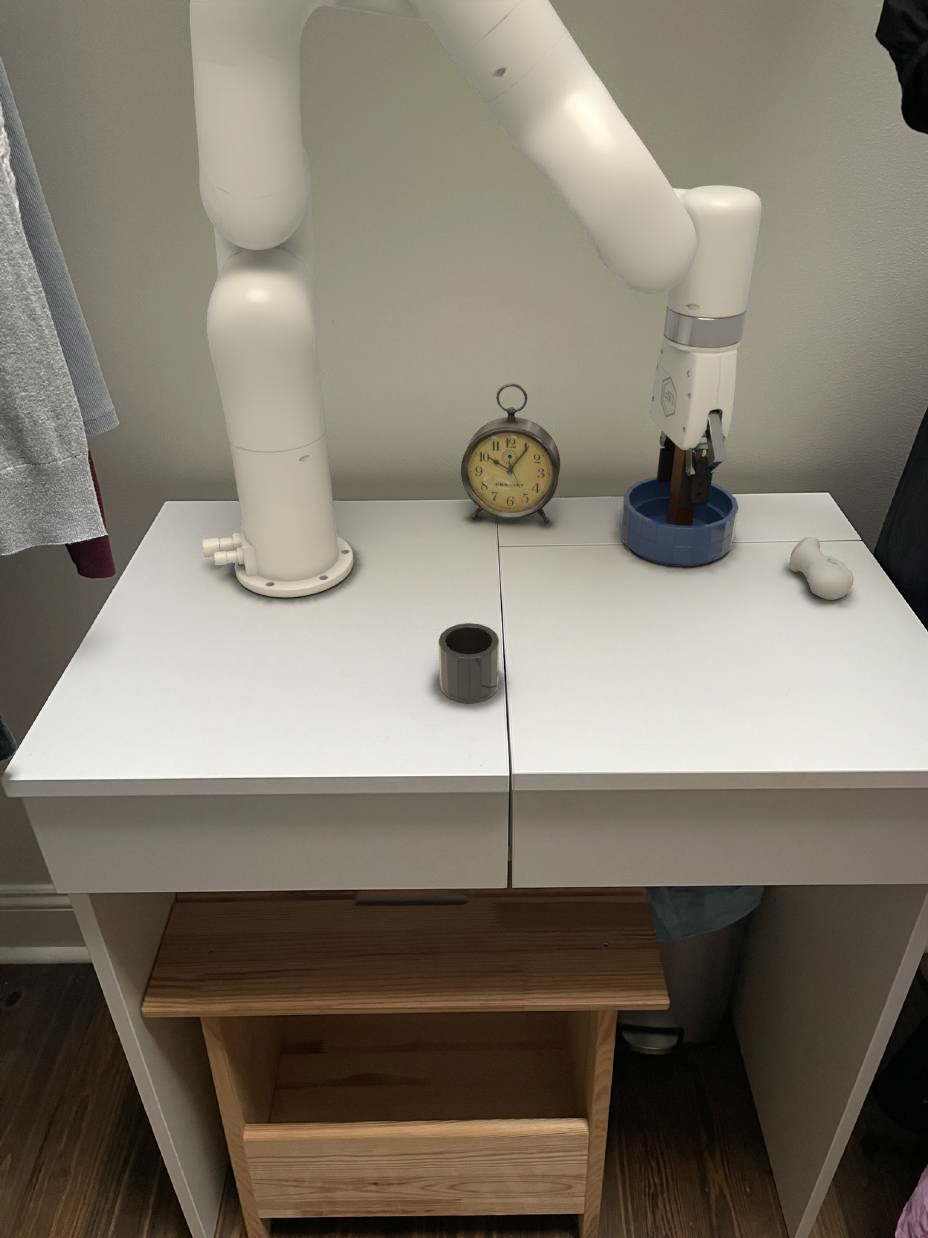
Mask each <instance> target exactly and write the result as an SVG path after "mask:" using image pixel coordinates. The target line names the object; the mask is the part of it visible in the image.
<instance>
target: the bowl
mask: <svg viewBox="0 0 928 1238" xmlns="http://www.w3.org/2000/svg"><path fill="white" fill-rule="evenodd" d="M670 486H671V482H666V483H659V482H658V480H657V476H654V477H650V478H646V479H643V480H642V479H641V480H639V481H636V482H635V483H633V484H632V485H631V486H629V487H628V488H627V489H626V491H625V492H624V494H623V496H622V506H621V507H622V508H621V509H622V510H621V517H620V518H621V519H620V529H619V531H620V539H621V540H622V541H623V543H624V545H625V546H626V547H627V548H629V549H630V550H631V551H632V552H633V553H635V554H636V555H638V556H639V557H641V558H642V559H645V560H647V561H650V562H653V563H656V564H659V565H665V566H672V567H697V566H701V565H705V564H709V563H711V562H713V561H716V560H718V559H720V558H722V557H723V556H724V555H726V554H727V553H728V552H729V551H730V550H731V547H732V545H733V542H734V537H735V531H736V525H737V521H738V514H739V505H738V501H737V498H736V497H735V496H734V495H733V494H732V493H731V492H730V491H729V490H727V489H725V488H723V487H722V486H720V485H718V484H716V483H714V482H711V488H710V494H709V501H708V504H707V505H705V506H697V507H695V511H694V518H693V525H692V526H680V525H672V524H667V523H666V518H667V510H668V502H669V494H670Z"/></svg>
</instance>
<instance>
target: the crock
mask: <svg viewBox="0 0 928 1238" xmlns="http://www.w3.org/2000/svg"><path fill="white" fill-rule="evenodd" d="M499 638H500V637H499V636H498V634H497V633H496V632H495V631H494V630H493V629H492V628H490V627H488V626H486V625H484V624H480V623H473V622H464V623H457V624H455V625H452V626H450V627H448V628H446V629H445V630H443V631H442V632H441V634H440V635H439V638H438V665H439V666H438V667H439V686H440V690H441V692H442V694H443V695H444V696H445V697H447V698H448V699H450V700H451V701H454V702H457V703H461V704H476V703H481V702H484V701H487V700H489V699H490V698H492V697H493V696H494V695H495V694H496V692H497V691H498V689H499V680H500V679H499V678H500V677H499V675H500V639H499Z"/></svg>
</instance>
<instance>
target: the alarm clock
mask: <svg viewBox="0 0 928 1238" xmlns="http://www.w3.org/2000/svg"><path fill="white" fill-rule="evenodd" d="M510 387H512V388H513V387H514V388H516V389H518V390H520V391H521V392H522V394H523V396H524V401H523V403H522V406H520V407H519V408H517V409H515V408H514V407H513V406H511V407H510V406H509V407H508V408H505V407H504V406H503V405H502V403H501V402H500V395H501V393H502V391H504V390H505V389H506V388H507V389H508V388H510ZM495 398H496V404H497V405H498V407H500V409H501V410H502V411H504V412H506V413H507V416H504V417H500V418H496V419H493V420H491V421H488V422H487V423H486V424H484V425H482V427H480V428H479V429H478V430H477V431H476V432H475V433H474V435H472V437H471V439H470V441H469V443H468V445H467V447H466V450H465V451H464V454H463V456H462V458H461V459H462V460H461V465H460V476H461V477H460V478H461V482H462V485H463V488H464V491H465V492H466V495H467V496H468V498H469V499H470V500H471V501H472V502H473V504H474V505H476V507H477V508H476V510H475V511H474V513H473V514H471V519H473V520H476V519H478V516H479V515H480V514H481V513H482V512H485V513H487V514H489V515H491V516H494V517H497V518H501V519H509V520H512V519H513V520H515V519H516V520H517V519H522V518H526V517H529V516H532V515H535V514H538V515H539V517H541V518H542V520H543V521H544V523H545V524H549V523H550V518H549V517H548V516H547V515H546V512H545V511H544V509H543V508H544V507H545V506H547V504H548V503H549V502H551V499H552V498H553V497H554V495H555V493H556V490H557V487H558V483H559V476H560V471H561V457H560V451H559V449H558V446H557V443H556V442H555V440H554V439H553V437H552V436H551V434H550V433H549V432H548V431H547V430H546V429H545V428H543V427H542V426H541V425H540V424H538V423H536V422H534V421H532V420H531V419H530V420H529V419H527V418H523V417H518V416H516V413H519V412H520V411H522V410H524V408H525V407H526V405H527V403H528V394H527V391H526V389H524V387H523V386H521V385H519V384H517V383H506V384H504V385H502V386H501V387H500V388H499V389H498V390H497V392H496V397H495Z"/></svg>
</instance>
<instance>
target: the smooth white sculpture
mask: <svg viewBox="0 0 928 1238" xmlns="http://www.w3.org/2000/svg"><path fill="white" fill-rule="evenodd" d="M820 549H821V543H820V539H819V538H817V537H815V536H805V537H803V538H801V540H800V541H799V542H798V543H797V544H796V545H795V546H794V547H793V548H792V551H791V553H790V557H789V569H790V571H792V572H794V573H795V572H801V573H803V575H804V576H805V577H806V581H807V583H808V585H809V588H810V591H811V593H812V594H813V595H816V596H818V597H820V598H822V599H825V600H839V599H842V598H843V597H845V596H846V595H847V594H848V593H849V592H850V590H851V589H852V588H853V584H854V574H853V572H852V571H851V570H850V568H848V567H847V566H846V565H845V563H844V562H842V561H841V560H840V559H837V558H836V557H832V556H830V555H824V554H823V553H822V552H821V550H820Z"/></svg>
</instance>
